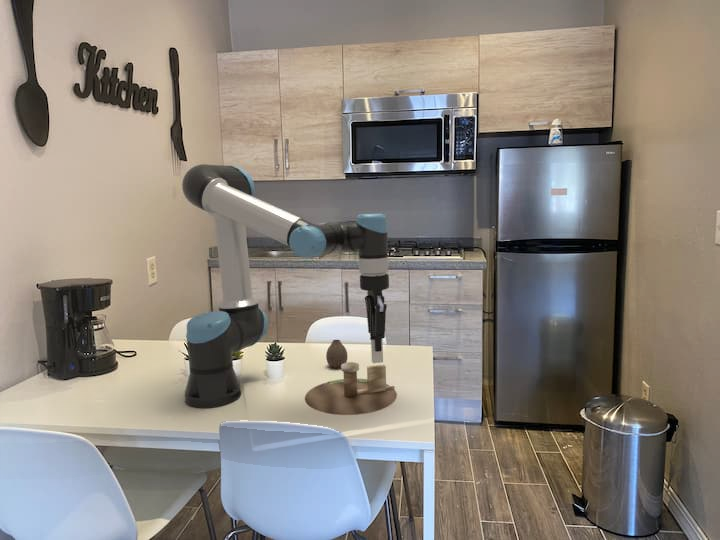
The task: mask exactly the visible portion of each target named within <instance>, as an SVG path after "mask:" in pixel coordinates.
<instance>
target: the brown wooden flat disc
mask: <svg viewBox="0 0 720 540" xmlns="http://www.w3.org/2000/svg"><path fill="white" fill-rule="evenodd" d="M388 386H390V385H389V384H388V383H386V387H388ZM361 389H368V382H367V378H357V390H361ZM397 394H398V393H397V391H396V390H395V389H387V390H386V391H379V392H372V393H365V394H357V395H356V396H353V397H347V396H345V395H344V378H343V379H342V378H341V379H335V380H330V381H327V382H324V383H321V384H318V385H316V386H314V387H313V388H312V387H311V389H310V390H308V391H307V392H306V394H305V396H304V401H305V403H306V405H308V407H310V408H311V409H313V410H316V411H317V412H320V413H325V414H329V415H339V416H354V415H357V416H358V415H364V414H370V413H374V412H379V411H381V410H383V409H386V408H387V407H389V406H392V404H393V403H394V402H395V401H396V399H397V397H398V395H397Z"/></svg>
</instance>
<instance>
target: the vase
mask: <svg viewBox="0 0 720 540" xmlns="http://www.w3.org/2000/svg"><path fill="white" fill-rule="evenodd" d="M326 362H327V364H328V366H329V367H331V368H333V369H341V365H342V364H343V363H348V351H347V348H346V347H345V346H344V345H343V343H342V342H341V339H332V342H331V344H330V345H329V347H328V348H327V351H326Z"/></svg>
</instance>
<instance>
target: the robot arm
mask: <svg viewBox="0 0 720 540" xmlns="http://www.w3.org/2000/svg"><path fill="white" fill-rule="evenodd" d="M181 187H182V193H183V195H184V197H185V199H186V200H187V201H188V202H189V203H190V204H191V205H193V206H194V207H196V208H199V209H200V210H201V211H202V210H203V211H205V212H207V213H208V215H209V216H210V217H211V218H212V219H213V221H214V227H215V238H216V245H217V253H218V265H219V273H220V274H219V275H220V283H221V291H222V301H221V302H220V304H219V305H218V310H214V311H208V312H203V313H200V314H197V315H195V316H193V317H192V318H190V319H189V320H188V322H187V323H186V332H185V334H186V335H185V337H186V343H187V345H186V346H187V355H188V356H187V357H188V365H189V367H188V368H189V375H188V380H187V382H186V383H187V384H186V388H185V391H184V401H185V403H186V405H187V406H190V407H194V408H202V409H203V408H215V407H221V406H224V405H228V404H230V403H233V402H235V401H236V400H238V399H239V398H240V397H241V396H242V389H241V387H242V386H241V384H240V381H239V379H238V377H237V374H236V372H235V370H234V362H233V360H234V359H233V354H234V353H237V352H239V351H241V350H243V349H246V348H249V347H252V346H254V345H255V344H257V343H258V342H260V341H261V340H263V338H264V337H265V335H266V333H267V331H268V326H269V324H268V323H269V322H268V316H267V314H266V313H265V311H264V310H263V308H262V307H260V306H259V300H257V299H256V298H255V297H254V296H253V290H252V280H251V278H252V277H251V271H250V270H251V269H250V260H249V249H248V241H247V230H246V228H247V227H248V228H250V229H251V230H254V231H256V232H258V233H261V234H263V235H264V236H266V237H269V238H271V239H273V240H274V241H275V240H276V241H278V242H279V243H282V244H283V245H286V246H287V247H290V249H291V251H292V252H293V253H294V255H295V256H296V257H299V258H302V259H307V258H308V259H313V258H316V257H319V256H323V255H327V254H328V255H329V254H333V253H336V252H357V253H358V269H359V270H358V271H359V273H360V276H359V287H360V290H362V291H366V292H367V293H366V294H367V295H366V296H364V302H365V308H366V309H365V310H366V319H367V329H368V330H367V331H368V333H369V335H370V337H369V340H370V344H371V346H370V348H371V350H370V351H371V352H370V353H371V362H372V364H381V363H384V349H383V348H384V347H383V339H385V338H386V337H385V336H386V316H387V315H386V313H387V306H388V305H387V304H386V303H385V297H384V295H383V291H384V290H387V289H389V287H390V276H389V274H388V272H389V264H390V263H391V260H390V259H388V257H389V252H388V251H389V250H388V249H389V248H388V245H389V243H388V231H389V230H388V225H387V217H386V215H385V214H383V213H363V214H358V215H357V217H356V221H353V222H351V221H350V222H346V221H345V222H341V221H340V222H333V221H332V222H330V221H329V222H321V223H318V224H316V223H313V222H310V221H308V220H306V219H304V218H301V217H299V216H297V215H295V214H292V213H291V212H288V211H287V210H284V209H281V208H279V207H278V206H275V205H273V204H270V203H268V202H266V201H264V200H261V198H260V199H259V198H257V197H255V192H256V191H255V183H254V180H253V179H252V177H251V175H250V174H249V173H248V172H247V171H246V170H245V169H243V168H241V167H239V166H233V165H218V164H217V165H216V164H202V163H201V164H198V165H194V166H193V167H191V168H189V170H188V171H187V172H186V173H185V174H184V176H183V178H182V183H181Z"/></svg>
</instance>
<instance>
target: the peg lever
mask: <svg viewBox="0 0 720 540" xmlns="http://www.w3.org/2000/svg"><path fill="white" fill-rule="evenodd" d="M340 369H341V372H343V379H344V395H345V396H347V397H353V396H356V395H357V394H365V393H372V392H379V391H386V390H387V389H394V390H395V385H389V386H388V387H386V384H387V366H386V365H385V364H377V365H370V366H369V365H368V366H366V373H367V375H366V376H367V378H366V379H367V382H368V389H361V390H357V379H358V371H359V370H360V365H359V363H357V362H353V361H351V362H350V361H347V362H346V363H343V364H342V365H341V368H340Z"/></svg>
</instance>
